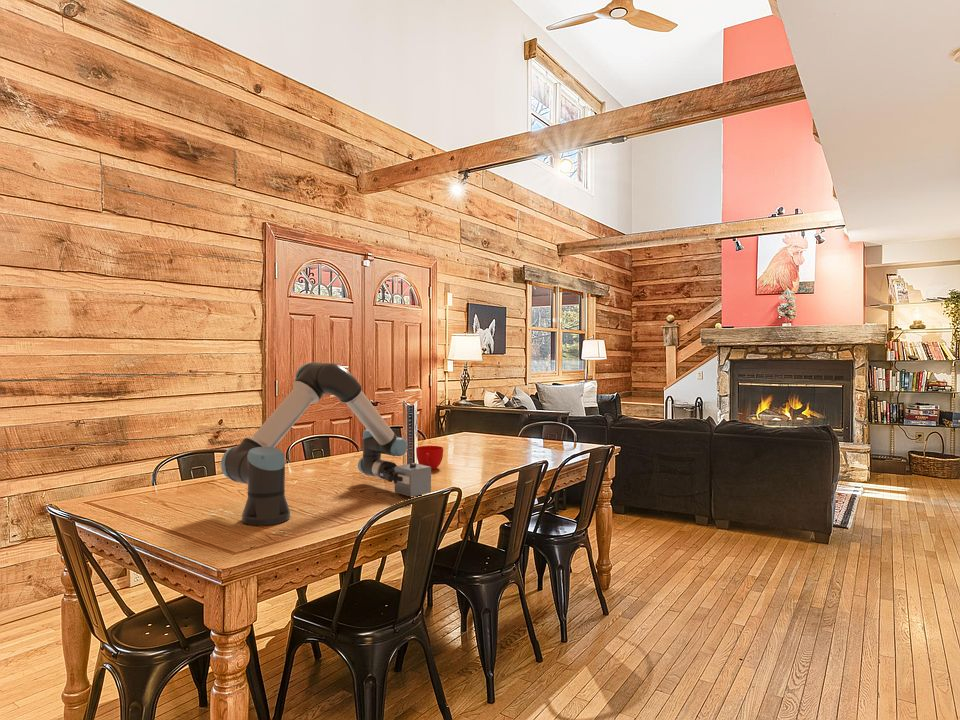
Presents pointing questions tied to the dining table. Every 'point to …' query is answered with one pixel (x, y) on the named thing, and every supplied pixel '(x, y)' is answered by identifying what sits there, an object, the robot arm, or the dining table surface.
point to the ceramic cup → (429, 456)
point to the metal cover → (414, 479)
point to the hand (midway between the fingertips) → (419, 478)
